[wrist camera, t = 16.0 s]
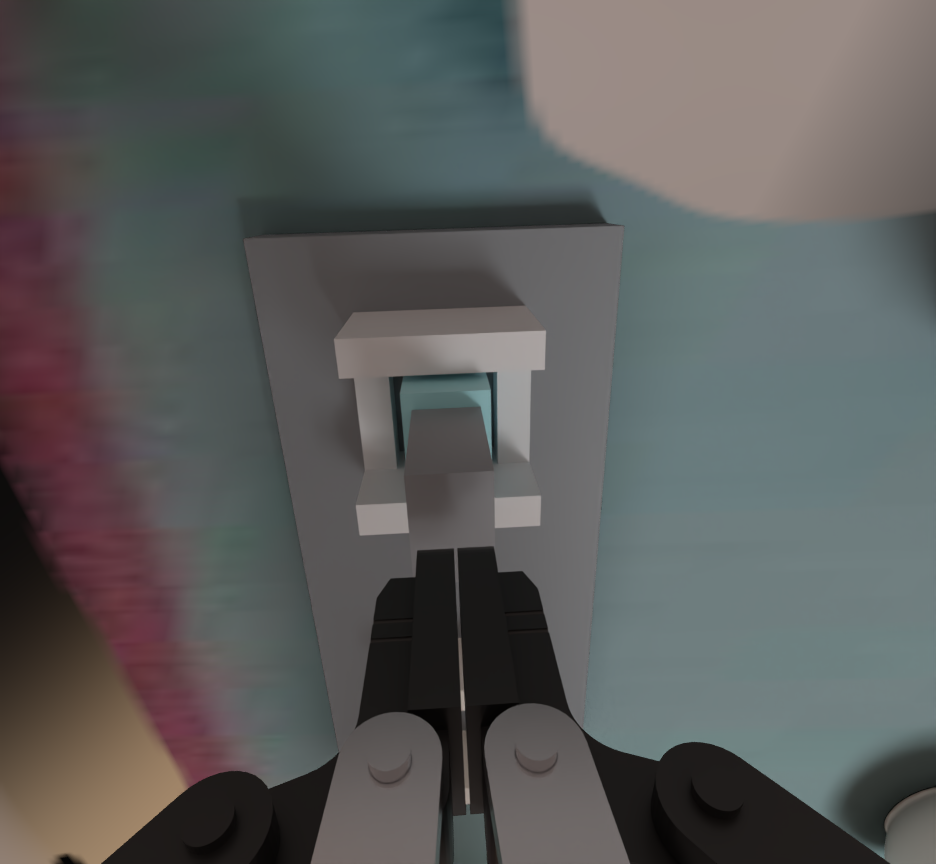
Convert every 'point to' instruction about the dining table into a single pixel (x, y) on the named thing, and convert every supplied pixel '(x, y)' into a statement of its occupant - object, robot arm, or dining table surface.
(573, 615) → the grey fixture board
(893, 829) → the lidded jar
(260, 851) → the robot arm
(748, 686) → the dining table surface
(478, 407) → the plug
